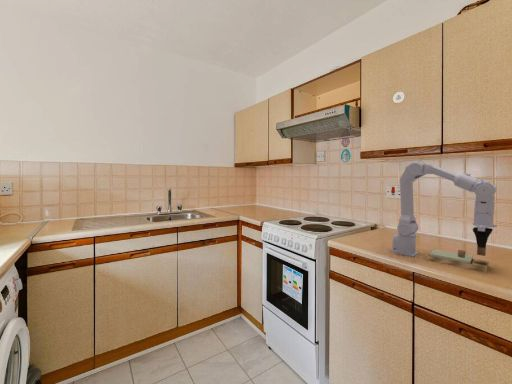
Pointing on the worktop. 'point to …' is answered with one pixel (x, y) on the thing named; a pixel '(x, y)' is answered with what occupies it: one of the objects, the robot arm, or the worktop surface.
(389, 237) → the worktop surface
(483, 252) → the dark brown rectangular block
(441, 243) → the worktop surface
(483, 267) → the shallow wooden tray
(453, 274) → the worktop surface
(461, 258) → the lid
